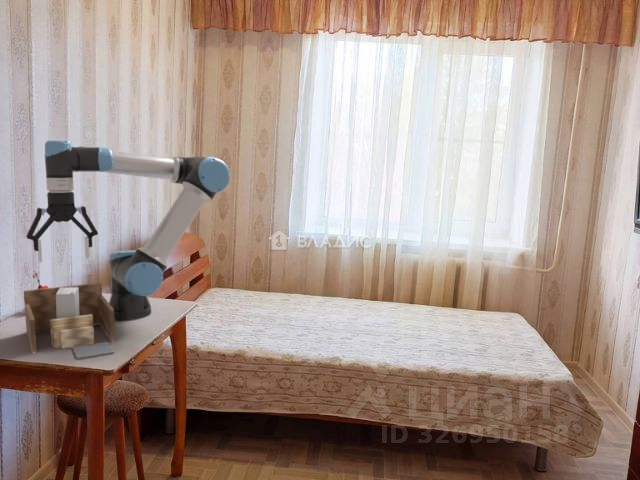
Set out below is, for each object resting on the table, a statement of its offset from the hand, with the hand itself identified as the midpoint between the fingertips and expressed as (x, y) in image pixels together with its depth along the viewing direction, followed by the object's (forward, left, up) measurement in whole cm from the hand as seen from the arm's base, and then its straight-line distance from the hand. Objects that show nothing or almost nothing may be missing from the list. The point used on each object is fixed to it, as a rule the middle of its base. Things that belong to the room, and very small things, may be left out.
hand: (64, 259), depth 183 cm
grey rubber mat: (-4, +19, -25) cm, 31 cm away
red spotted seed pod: (+4, -34, -25) cm, 42 cm away
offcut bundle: (0, +9, -25) cm, 26 cm away
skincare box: (0, 0, -25) cm, 25 cm away
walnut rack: (0, +1, -25) cm, 25 cm away
